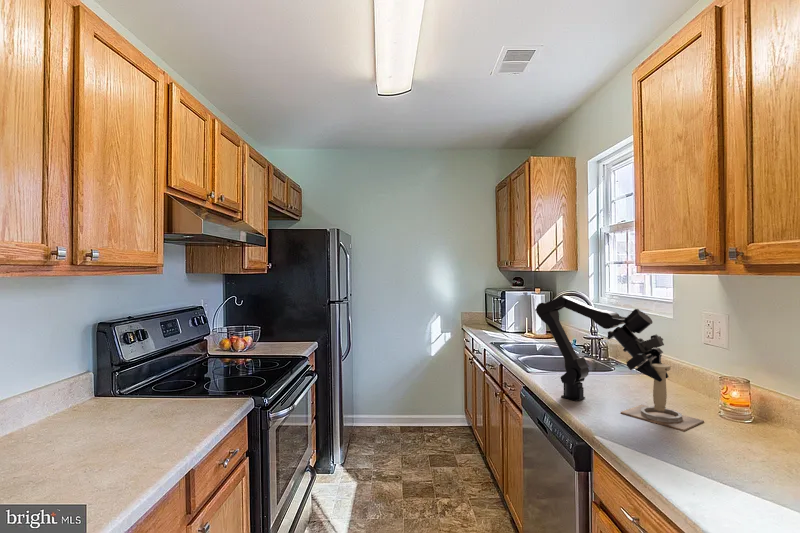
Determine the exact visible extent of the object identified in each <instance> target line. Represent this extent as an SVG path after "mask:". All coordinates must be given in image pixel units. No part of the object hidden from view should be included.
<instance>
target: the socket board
mask: <svg viewBox="0 0 800 533" xmlns="http://www.w3.org/2000/svg"><path fill="white" fill-rule="evenodd" d="M654 406H655V405H653V406H649V405H645V404H640V405H637V406H634V407H631V408H628V409H624V410H621V411H620V414H622V415H625V416H628V417H632V418H635V419H639V420H643V421H647V422H649V421H650V423H653V422H654V424H656V423H657V425H660V426H663V425H664V427H667V428H670V429H674V430H678V431H682V432H685V431H687V430H690V429H692V428H694V427H696V426H697V427H698V426H699V425H701V424H703V423H705V419H704V420H703V419H700V418H696V417H692V416H687V415H684V414H682V413H681V412H680V411H677V410H674V409H671V408H667V407H666V408H665V410H664V411H657V410H655V409H654Z"/></svg>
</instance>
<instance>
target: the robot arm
mask: <svg viewBox="0 0 800 533" xmlns="http://www.w3.org/2000/svg"><path fill="white" fill-rule="evenodd" d="M564 308H565V309H567V310H571V311H572V312H575V313H577V314H579V315H581V316H583V317H586V318H588V319H590V320H592V321H593V322H594V323H595V324H596V325H598V326H599V327H600V328H602V329H605V330H608V329H613V328H614V329H613V330H609V331H607V337H606V338H607V340H611V339H614V340H616V342H618V343H619V344H620V346H621V347H622V348H623V349H622V351H623V352H624V353H628V354H629V355H630V356H631V358H630V359H628V360H627V361H626V367H627V368H628V369H629V370H630V371H633V370H634V369H635V370H634V371H635V372H639V373H641V374H643V375H645V376H647V377H649V378H651V379H653V380H654V379H655V380H657V381H659V382H661V381H662V378H661V377H660V375H659V374H658V373H657V371H656V370H655V368H654V367H653V366H652V364H663V363H662V357H663V355H662V354H663V353H664V351H663V350H662V349H661V348H660V347H663V346H665V343H664V338H663V337H661V336H659V335H658V334H657V333H656V334H653V335H650V338H649V339H646V340H644V339H643V338H641V337H640V338H638V337H637V336H636V334H641V333H642V332H643V331H645V329H647V328H649V326H651V325H652V324H653V320H652V319H651V317H650V316H649V314H647V313H645V312H643V311H641V310H640V309H639V308H635V309H633V310H632V311H631V313H630V314H628V315H627V316H624V315H623V316H622V315H620V314H619V313H617V312H615V311H611V310H606V309H600V308H597V307H594V306H591V305H589V304H586V303H584V302H582V301H579V300H576V299H574V298H572V297H570V296H568V295H562V296H559V297H557V298H555V299H553V300H550V301H546V302H545V301H544V302H540V303H538V304H537V305H536V308H535V312H536V315H538V317H539V319H540V320H541V321H542V322H544V324H545V325H547V327H548V329H549V331H550V332H551V334H552V337H553V339H554V341H555V343H556V345H557V347H558V349H559V351H560V353H561V355H562V357H563V359H564V368H565V373H564V374H562V375H561V376H560V378H559V379H560V381H561V383H562V384H563V394H562V395H560V397H561V398H564V399H567V400H570V401H573V402H577V401H581V400H584V399H586V396H584V395H585V394H584V386H583V382H584V381H585V378H586V377H588V376H589V373H590V368H589V367H590V365H588V363H587V361H586V358H585V356H582V357H581V356H579V355H578V354H577V353H576V352H575V349H574V347H573V345H572V344H571V341H570V340H569V337H568V335H567V334H566V331H565V328H564V327H563V326H562V323H561V321H560V312H559V311H560V310H562V309H564ZM621 325H622V326H621ZM636 367H637V368H636ZM668 378H669V375H668V371H667V372H666V379H668Z"/></svg>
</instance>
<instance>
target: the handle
mask: <svg viewBox="0 0 800 533" xmlns="http://www.w3.org/2000/svg"><path fill="white" fill-rule="evenodd" d="M652 366H653V367H654V368H655V370H656V371H657V373H658V374H659V375H660V377H661V378H662V381H661V382H659V381H657V380H655V379H653V389H652V400H653V406H654V409H655V410H657V411H664V410H665V408H667V407H666V406H667V398H668V397H667V395H668V393H667V378H666V372H667V373H668V372H669V371H670V370H671V367H672V366H671V365H670V364H665V363H662V364H652Z"/></svg>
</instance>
